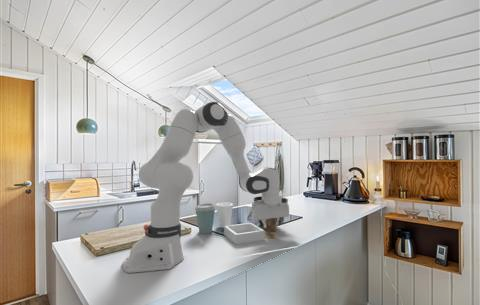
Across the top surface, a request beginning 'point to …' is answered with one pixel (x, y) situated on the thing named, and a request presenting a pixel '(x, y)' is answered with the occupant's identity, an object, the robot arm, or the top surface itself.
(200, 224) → the disposable coffee cup
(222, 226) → the foam cup
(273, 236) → the cork coaster
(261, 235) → the grey tub
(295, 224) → the top surface
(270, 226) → the walnut block
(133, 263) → the robot arm
